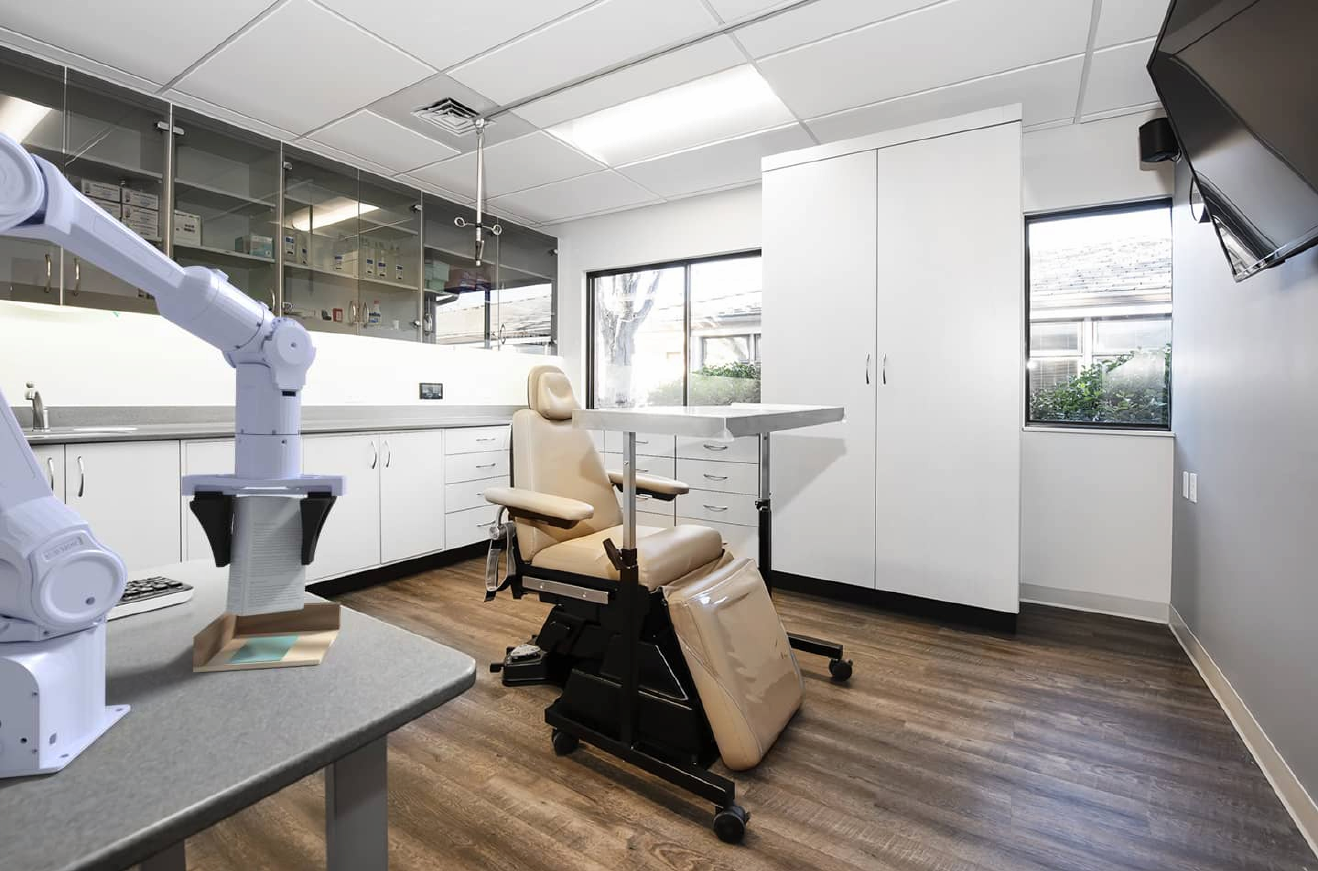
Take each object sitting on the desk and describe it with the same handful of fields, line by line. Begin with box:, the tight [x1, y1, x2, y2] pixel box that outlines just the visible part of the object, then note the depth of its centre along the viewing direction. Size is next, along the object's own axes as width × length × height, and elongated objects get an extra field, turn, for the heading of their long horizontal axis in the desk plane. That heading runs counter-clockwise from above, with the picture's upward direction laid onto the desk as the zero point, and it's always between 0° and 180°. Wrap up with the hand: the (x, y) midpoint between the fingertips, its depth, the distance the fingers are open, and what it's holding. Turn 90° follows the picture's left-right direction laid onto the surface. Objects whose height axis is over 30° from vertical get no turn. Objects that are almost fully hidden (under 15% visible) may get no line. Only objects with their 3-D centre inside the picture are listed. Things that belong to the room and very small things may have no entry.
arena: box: [192, 601, 342, 673], centre depth 66 cm, size 10×11×4 cm
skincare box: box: [225, 495, 307, 616], centre depth 66 cm, size 6×4×12 cm
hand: (266, 564), depth 65 cm, fingers closed on skincare box, 7 cm apart
